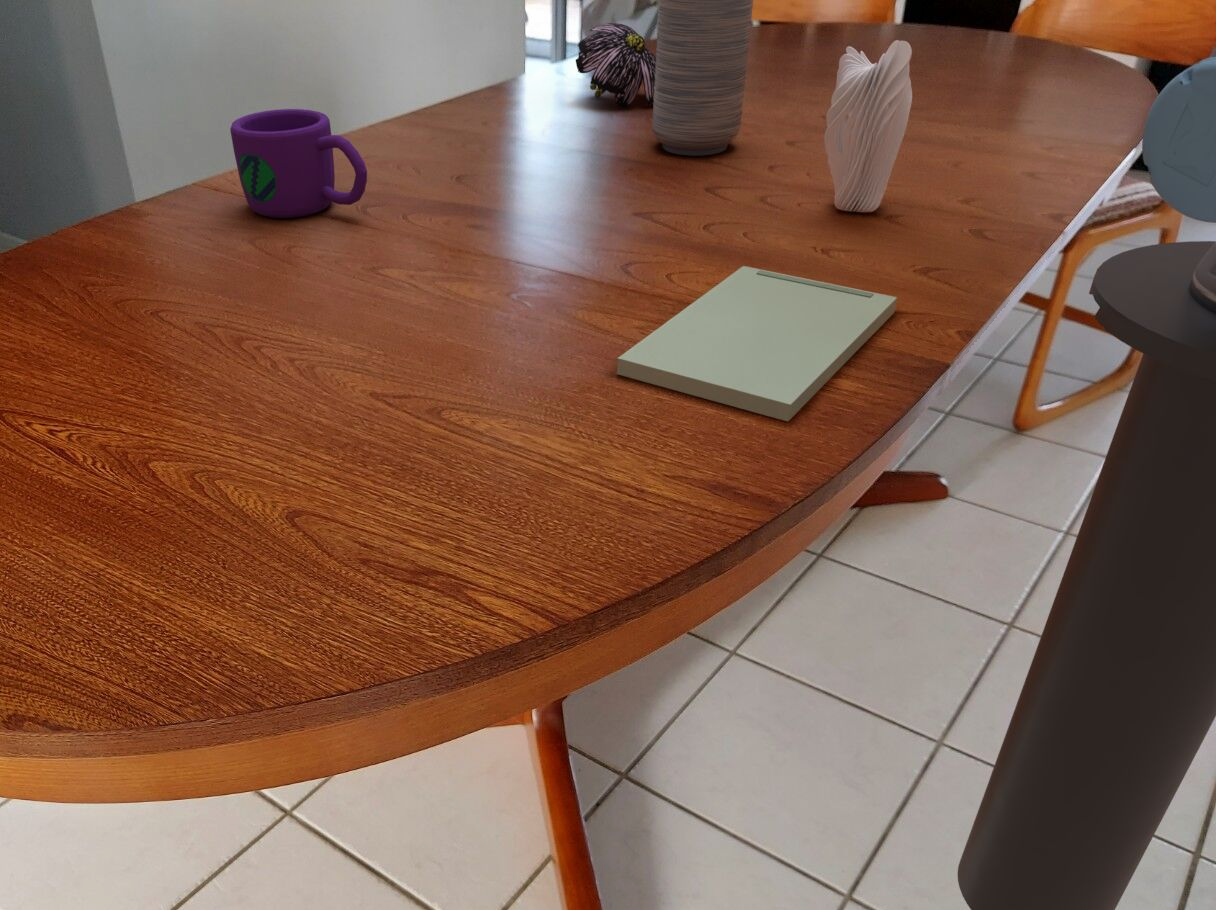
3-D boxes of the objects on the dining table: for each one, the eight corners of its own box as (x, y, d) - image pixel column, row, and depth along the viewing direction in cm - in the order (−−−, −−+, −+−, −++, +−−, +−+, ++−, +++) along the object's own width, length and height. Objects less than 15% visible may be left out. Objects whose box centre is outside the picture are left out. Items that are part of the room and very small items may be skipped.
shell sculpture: (819, 194, 122) (844, 26, 111) (893, 200, 119) (925, 28, 109) (810, 217, 116) (835, 41, 105) (888, 223, 113) (921, 43, 103)
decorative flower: (617, 46, 148) (576, -1, 157) (585, 122, 156) (548, 73, 164) (696, 64, 155) (653, 18, 164) (662, 136, 163) (622, 89, 171)
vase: (656, 160, 135) (667, -40, 122) (646, 137, 145) (655, -51, 131) (745, 157, 135) (766, -43, 122) (730, 134, 144) (748, -55, 131)
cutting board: (741, 280, 101) (743, 264, 100) (894, 312, 94) (897, 295, 93) (616, 374, 86) (617, 356, 85) (788, 422, 79) (791, 402, 78)
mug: (224, 214, 123) (208, 126, 117) (286, 187, 131) (273, 104, 125) (340, 235, 116) (329, 143, 110) (398, 206, 124) (391, 118, 118)
